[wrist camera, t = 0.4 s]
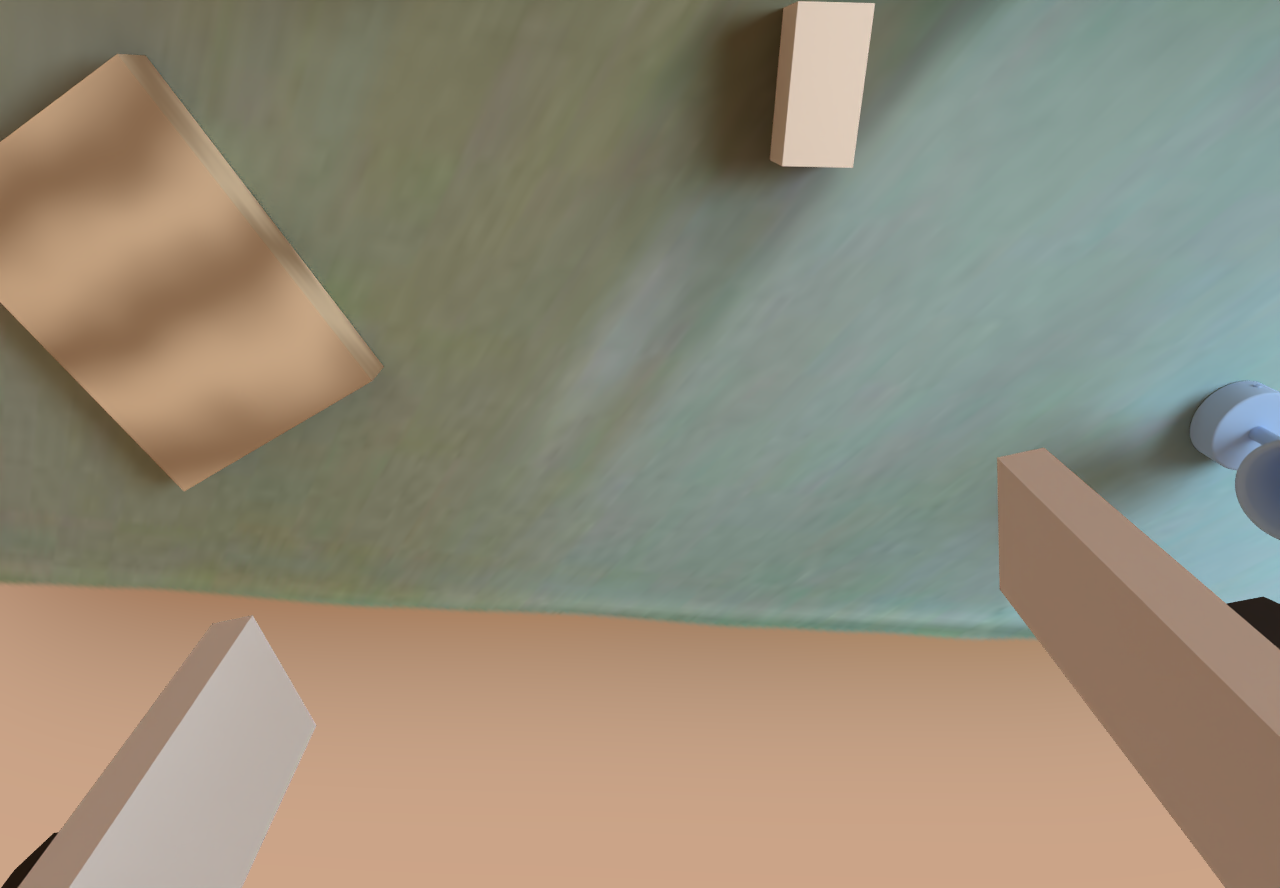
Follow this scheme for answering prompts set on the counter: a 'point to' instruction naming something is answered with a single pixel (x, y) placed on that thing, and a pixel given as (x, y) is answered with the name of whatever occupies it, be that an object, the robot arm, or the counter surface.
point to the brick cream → (820, 83)
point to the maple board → (164, 277)
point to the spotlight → (1245, 445)
